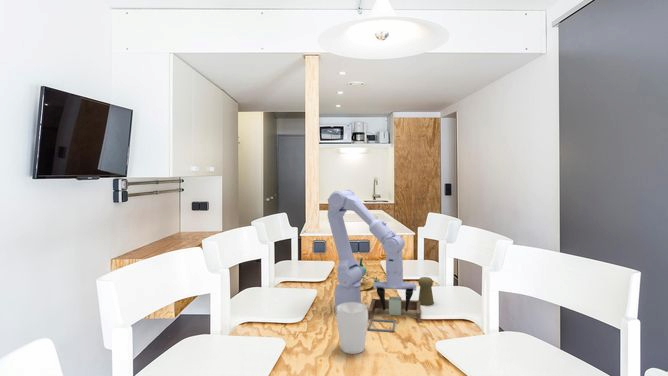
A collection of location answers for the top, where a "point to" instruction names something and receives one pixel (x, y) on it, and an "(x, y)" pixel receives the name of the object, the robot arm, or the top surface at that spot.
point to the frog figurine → (366, 284)
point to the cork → (425, 291)
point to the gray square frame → (381, 329)
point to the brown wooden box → (413, 312)
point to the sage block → (395, 306)
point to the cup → (352, 326)
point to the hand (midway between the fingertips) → (395, 309)
